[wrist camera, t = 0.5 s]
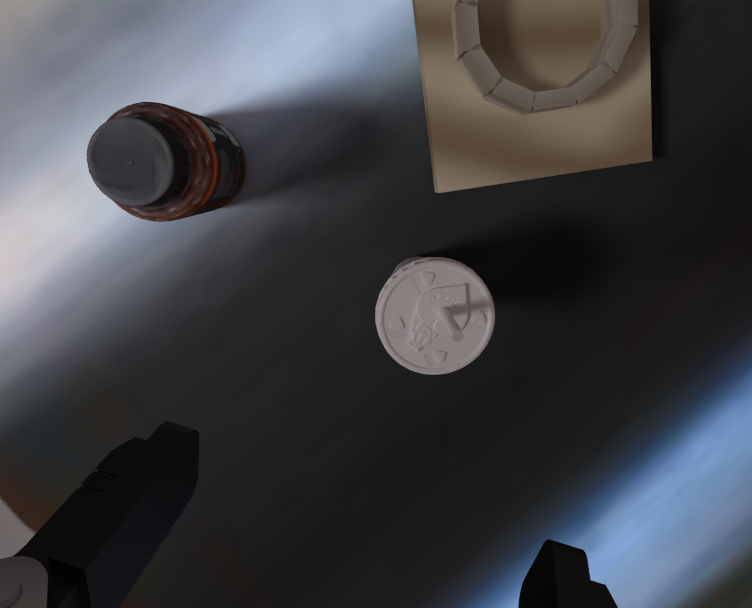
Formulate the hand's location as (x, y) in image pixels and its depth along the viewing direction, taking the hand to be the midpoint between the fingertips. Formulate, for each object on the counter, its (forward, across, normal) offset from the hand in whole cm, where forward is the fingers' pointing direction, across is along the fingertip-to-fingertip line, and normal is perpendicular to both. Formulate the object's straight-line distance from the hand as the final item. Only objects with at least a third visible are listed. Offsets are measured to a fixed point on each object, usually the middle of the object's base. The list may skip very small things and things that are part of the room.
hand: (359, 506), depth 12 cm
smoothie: (+26, +1, +7) cm, 27 cm away
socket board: (+31, -2, -9) cm, 32 cm away
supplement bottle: (+24, +16, +2) cm, 29 cm away
